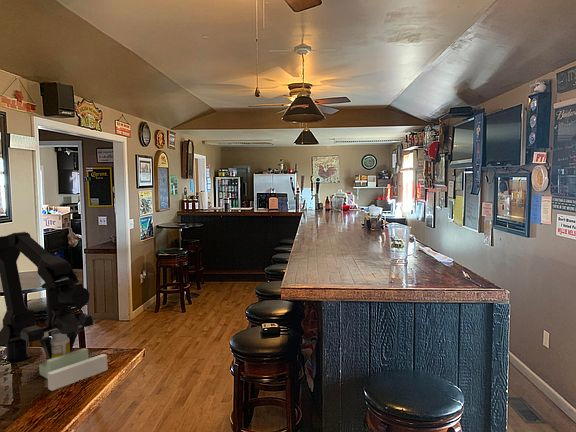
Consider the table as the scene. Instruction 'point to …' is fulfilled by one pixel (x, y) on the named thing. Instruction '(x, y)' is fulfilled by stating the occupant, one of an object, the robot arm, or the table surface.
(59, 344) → the supplement bottle
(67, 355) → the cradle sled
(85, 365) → the backstop wall
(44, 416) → the table surface
